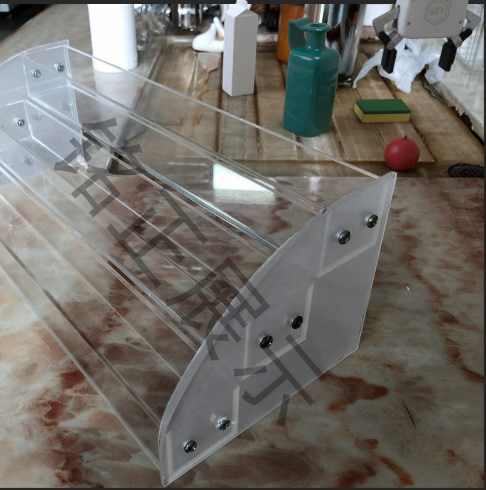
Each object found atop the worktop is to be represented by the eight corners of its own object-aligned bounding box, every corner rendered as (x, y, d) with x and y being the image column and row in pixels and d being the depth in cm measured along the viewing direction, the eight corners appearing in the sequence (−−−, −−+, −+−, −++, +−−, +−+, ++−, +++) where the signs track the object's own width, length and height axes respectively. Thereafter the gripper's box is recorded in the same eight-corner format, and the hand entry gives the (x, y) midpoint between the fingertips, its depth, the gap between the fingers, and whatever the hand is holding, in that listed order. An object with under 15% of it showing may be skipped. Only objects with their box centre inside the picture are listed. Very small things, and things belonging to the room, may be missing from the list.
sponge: (398, 111, 135) (400, 98, 133) (408, 123, 129) (411, 110, 128) (353, 112, 135) (355, 99, 134) (362, 124, 130) (364, 111, 128)
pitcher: (334, 129, 127) (349, 23, 115) (308, 140, 123) (321, 31, 111) (299, 116, 134) (310, 14, 122) (273, 127, 130) (281, 22, 117)
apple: (409, 161, 114) (417, 127, 110) (420, 176, 109) (429, 141, 105) (377, 162, 114) (383, 128, 110) (386, 177, 109) (394, 142, 105)
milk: (231, 98, 145) (234, 3, 132) (222, 90, 150) (224, -3, 137) (254, 95, 146) (259, 0, 134) (244, 87, 151) (248, -6, 138)
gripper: (394, -36, 87) (372, 79, 96) (509, -39, 87) (476, 75, 97) (375, -45, 93) (357, 64, 102) (484, -48, 93) (455, 61, 103)
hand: (415, 70), depth 100 cm, fingers open, 9 cm apart
